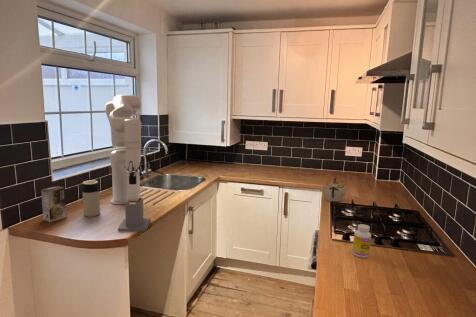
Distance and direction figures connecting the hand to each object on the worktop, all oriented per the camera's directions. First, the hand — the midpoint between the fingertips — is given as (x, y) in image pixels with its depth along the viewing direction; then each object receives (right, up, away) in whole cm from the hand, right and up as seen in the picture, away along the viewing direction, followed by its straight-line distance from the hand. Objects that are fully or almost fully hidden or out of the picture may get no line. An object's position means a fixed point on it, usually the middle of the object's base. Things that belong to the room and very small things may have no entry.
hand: (133, 182), depth 153 cm
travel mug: (-28, -19, +18) cm, 38 cm away
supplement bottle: (+103, -30, -18) cm, 108 cm away
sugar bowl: (+114, -17, +58) cm, 129 cm away
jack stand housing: (-1, -22, +4) cm, 22 cm away
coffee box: (-44, -20, +10) cm, 49 cm away
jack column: (0, -14, +3) cm, 14 cm away
